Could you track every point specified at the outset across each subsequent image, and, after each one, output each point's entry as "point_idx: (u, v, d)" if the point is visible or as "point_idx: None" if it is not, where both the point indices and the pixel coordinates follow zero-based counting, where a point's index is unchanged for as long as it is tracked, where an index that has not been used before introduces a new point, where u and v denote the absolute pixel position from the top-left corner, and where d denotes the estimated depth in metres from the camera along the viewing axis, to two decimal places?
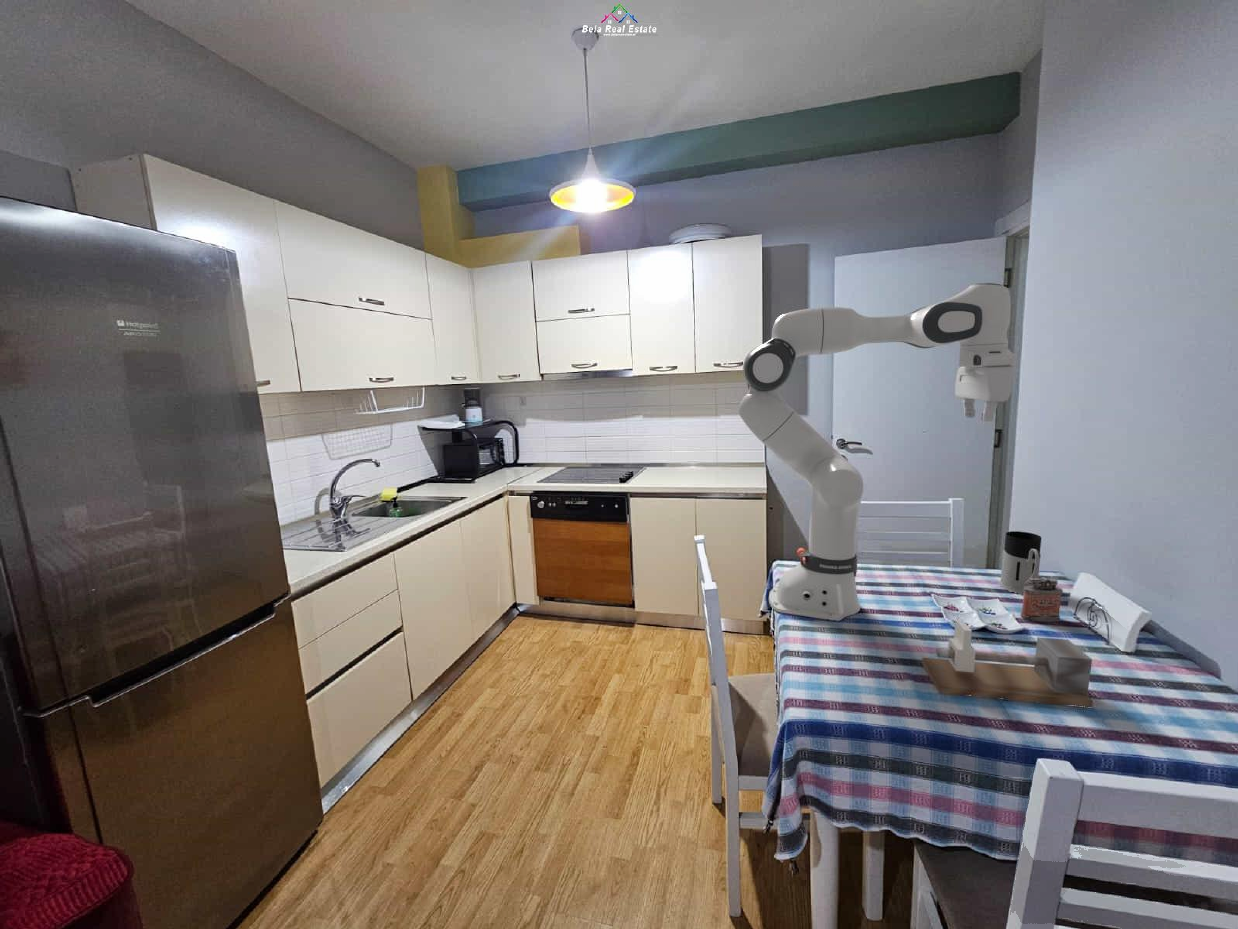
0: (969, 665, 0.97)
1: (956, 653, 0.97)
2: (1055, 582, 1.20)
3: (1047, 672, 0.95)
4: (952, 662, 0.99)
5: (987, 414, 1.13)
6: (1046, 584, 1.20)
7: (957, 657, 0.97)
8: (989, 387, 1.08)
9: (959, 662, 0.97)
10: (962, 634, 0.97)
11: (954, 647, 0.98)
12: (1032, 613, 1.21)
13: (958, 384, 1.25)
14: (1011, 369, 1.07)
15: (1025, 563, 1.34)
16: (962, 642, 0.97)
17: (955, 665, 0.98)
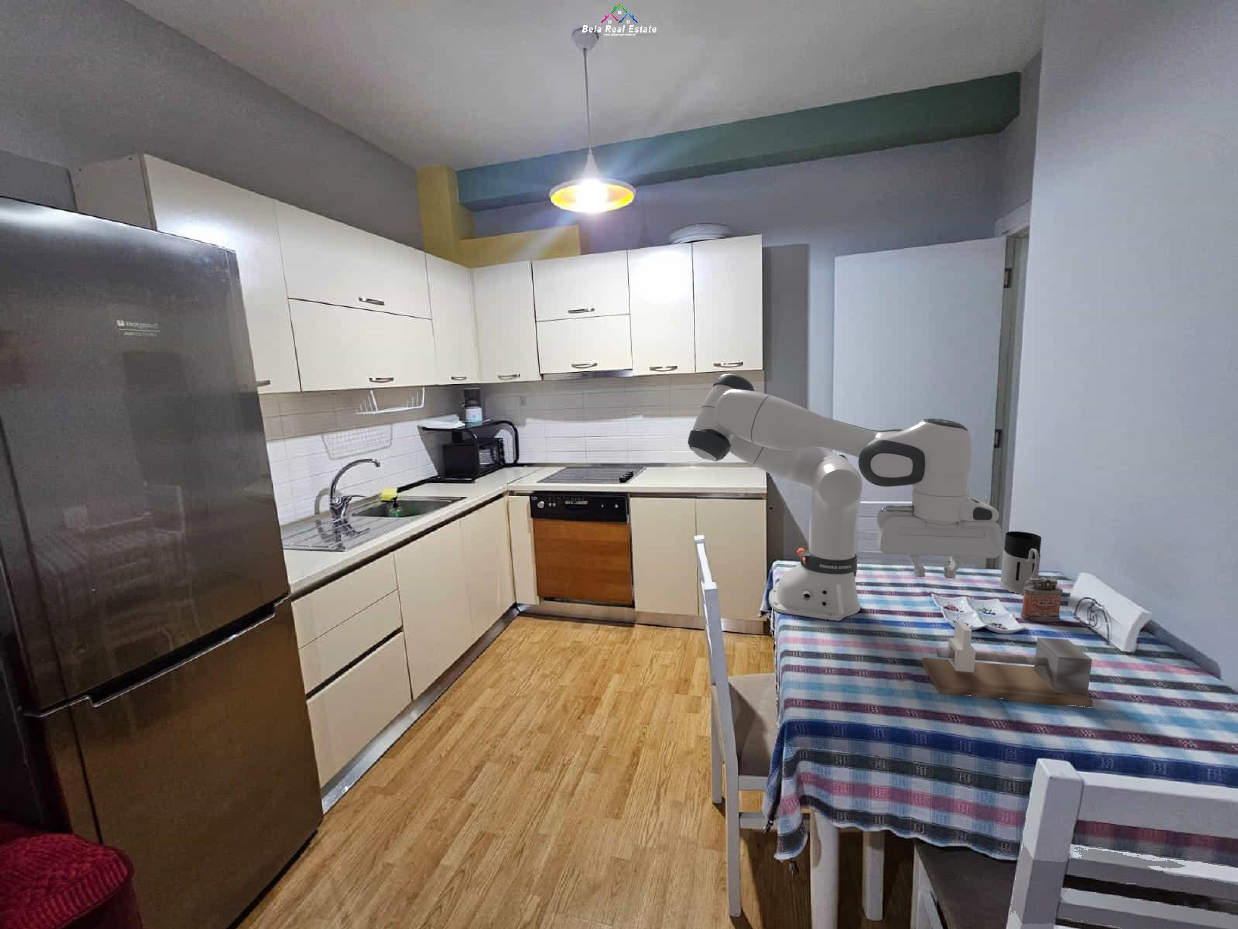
0: (969, 665, 0.97)
1: (956, 653, 0.97)
2: (1055, 582, 1.20)
3: (1047, 672, 0.95)
4: (952, 662, 0.99)
5: None
6: (1046, 584, 1.20)
7: (957, 657, 0.97)
8: (1000, 543, 0.92)
9: (959, 662, 0.97)
10: (962, 634, 0.97)
11: (954, 647, 0.98)
12: (1032, 613, 1.21)
13: (894, 539, 0.96)
14: None
15: (1025, 563, 1.34)
16: (962, 642, 0.97)
17: (955, 665, 0.98)
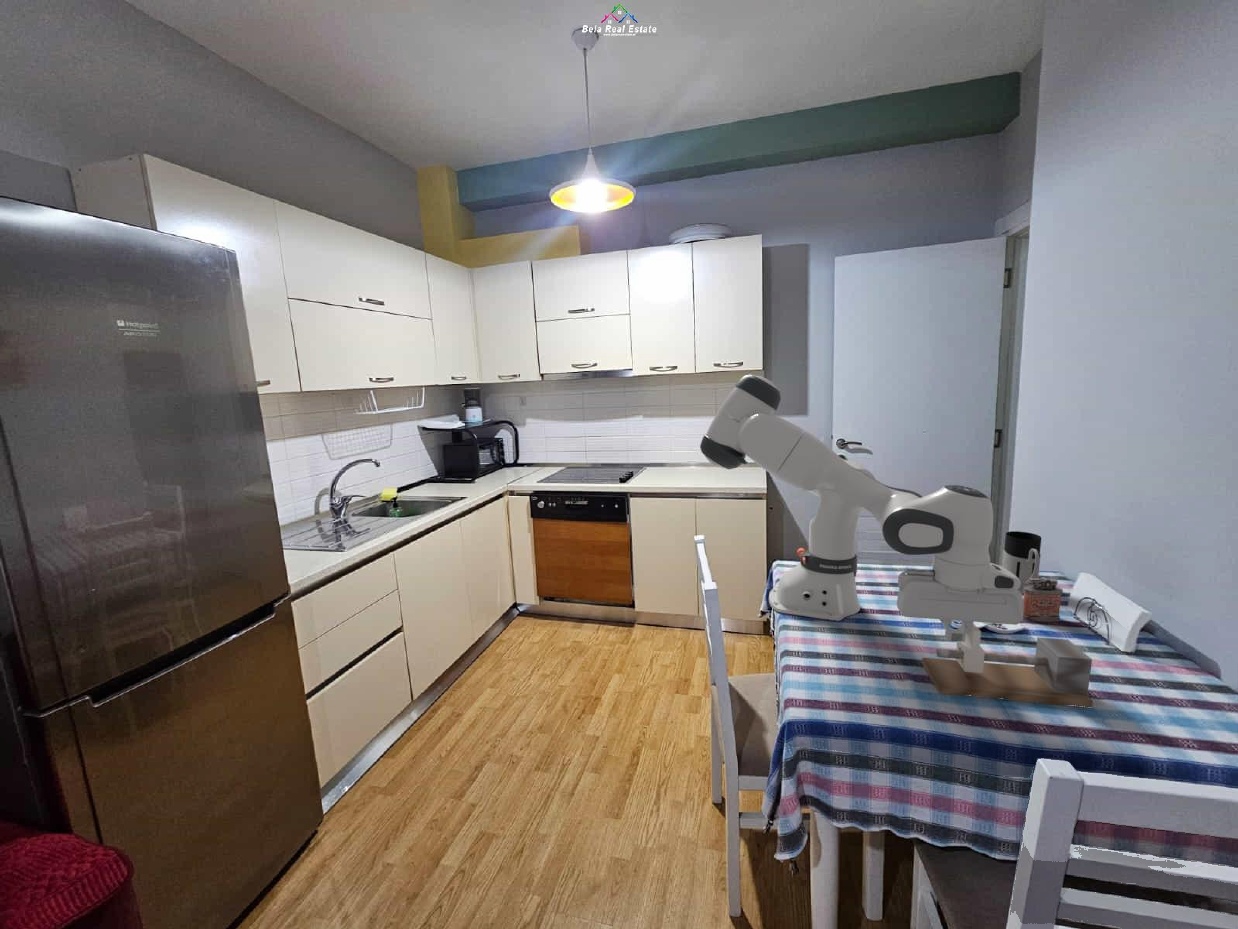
0: (978, 666, 0.96)
1: (965, 654, 0.97)
2: (1055, 582, 1.20)
3: (1047, 672, 0.95)
4: (961, 663, 0.99)
5: None
6: (1046, 584, 1.20)
7: (966, 658, 0.96)
8: (1022, 611, 0.93)
9: (968, 663, 0.96)
10: (971, 635, 0.96)
11: (963, 648, 0.98)
12: (1032, 614, 1.21)
13: (915, 603, 0.97)
14: None
15: (1025, 563, 1.34)
16: (971, 643, 0.96)
17: (964, 666, 0.97)
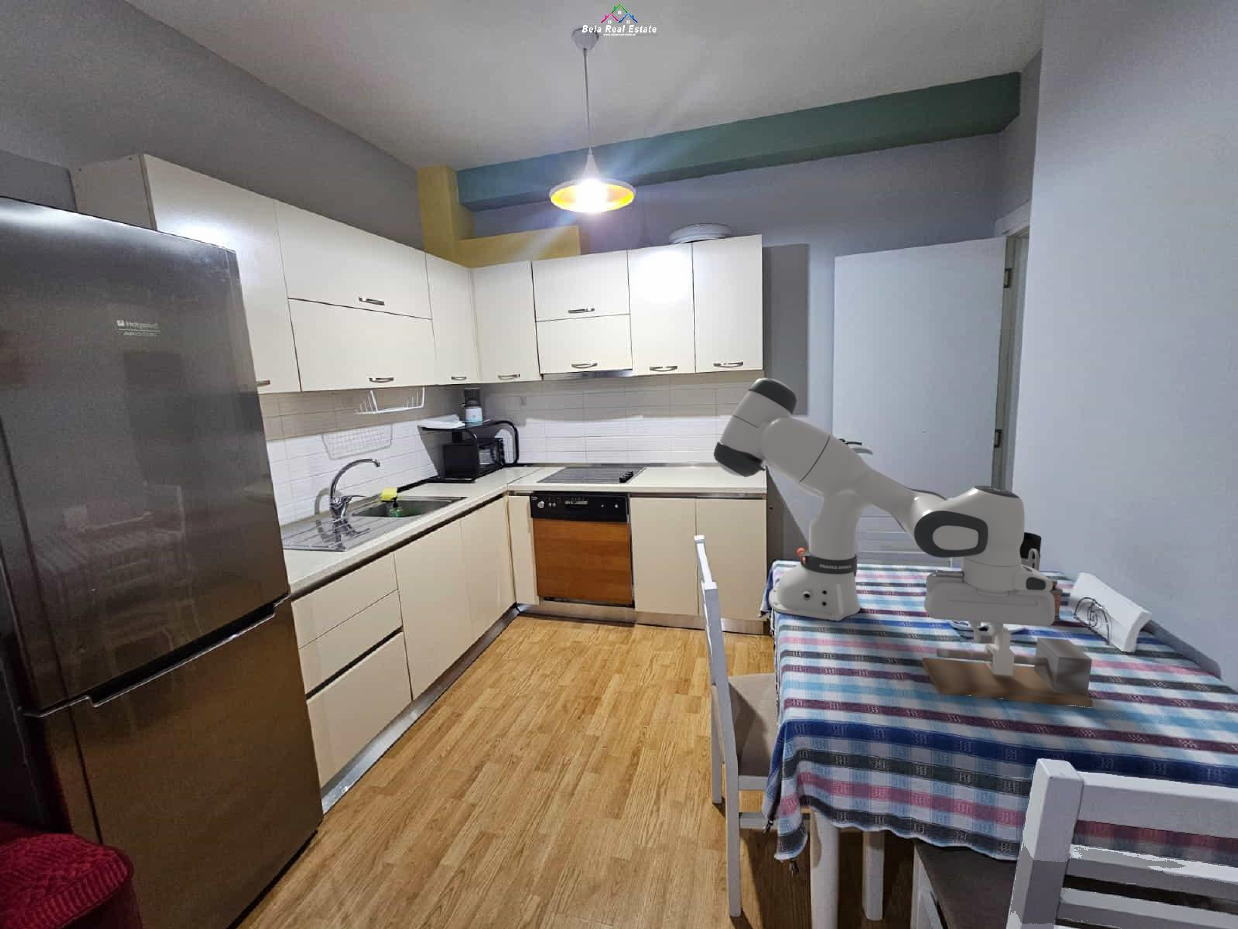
0: (1008, 668, 0.95)
1: (994, 656, 0.96)
2: (1055, 582, 1.20)
3: (1047, 672, 0.95)
4: (989, 665, 0.97)
5: None
6: None
7: (995, 660, 0.95)
8: (1053, 613, 0.91)
9: (997, 665, 0.95)
10: (1000, 637, 0.95)
11: (992, 650, 0.96)
12: None
13: (944, 604, 0.96)
14: None
15: (1025, 563, 1.34)
16: (1000, 645, 0.95)
17: (993, 668, 0.96)
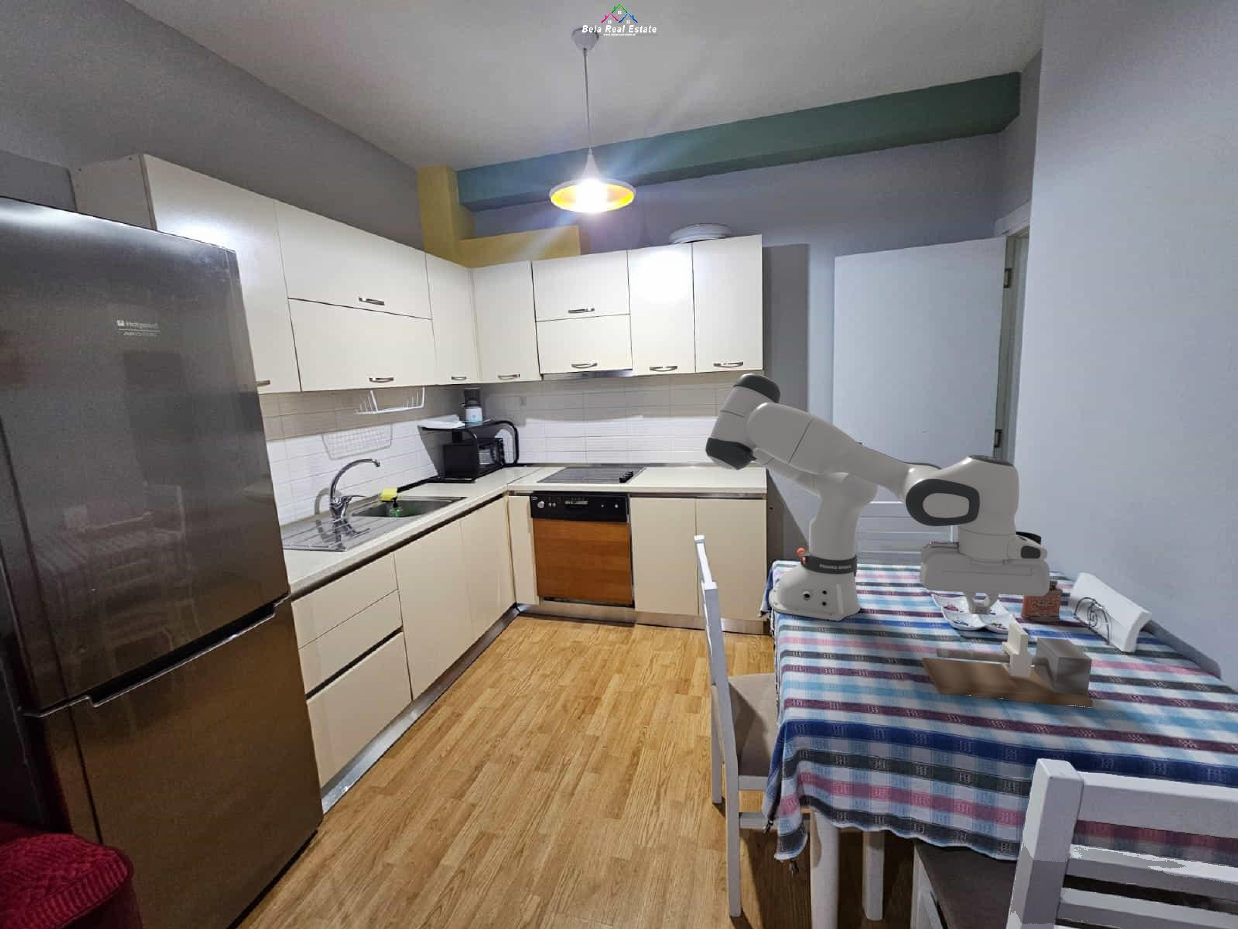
0: (1025, 670, 0.94)
1: (1011, 657, 0.95)
2: (1055, 582, 1.20)
3: (1047, 672, 0.95)
4: (1006, 667, 0.97)
5: None
6: None
7: (1013, 662, 0.95)
8: (1048, 582, 0.91)
9: (1015, 667, 0.95)
10: (1018, 638, 0.94)
11: (1009, 651, 0.96)
12: (1032, 614, 1.21)
13: (938, 575, 0.95)
14: None
15: None
16: (1018, 646, 0.94)
17: (1010, 670, 0.95)
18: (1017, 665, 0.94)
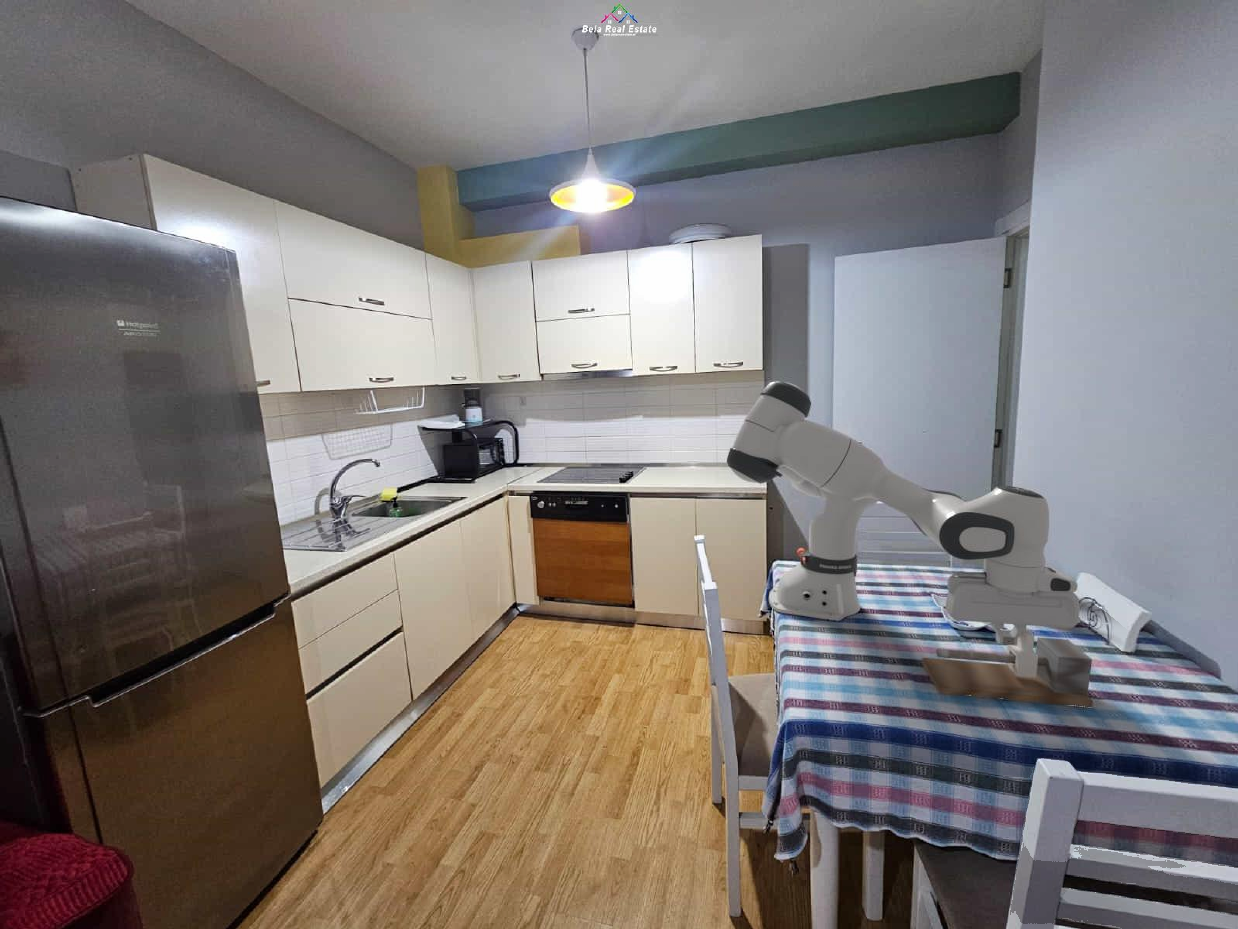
0: (1031, 670, 0.94)
1: (1017, 658, 0.95)
2: None
3: (1047, 672, 0.95)
4: (1012, 667, 0.96)
5: None
6: None
7: (1018, 662, 0.94)
8: (1078, 614, 0.91)
9: (1020, 667, 0.94)
10: (1024, 639, 0.94)
11: (1015, 652, 0.96)
12: None
13: (966, 606, 0.95)
14: None
15: None
16: (1024, 647, 0.94)
17: (1016, 670, 0.95)
18: (1023, 665, 0.94)
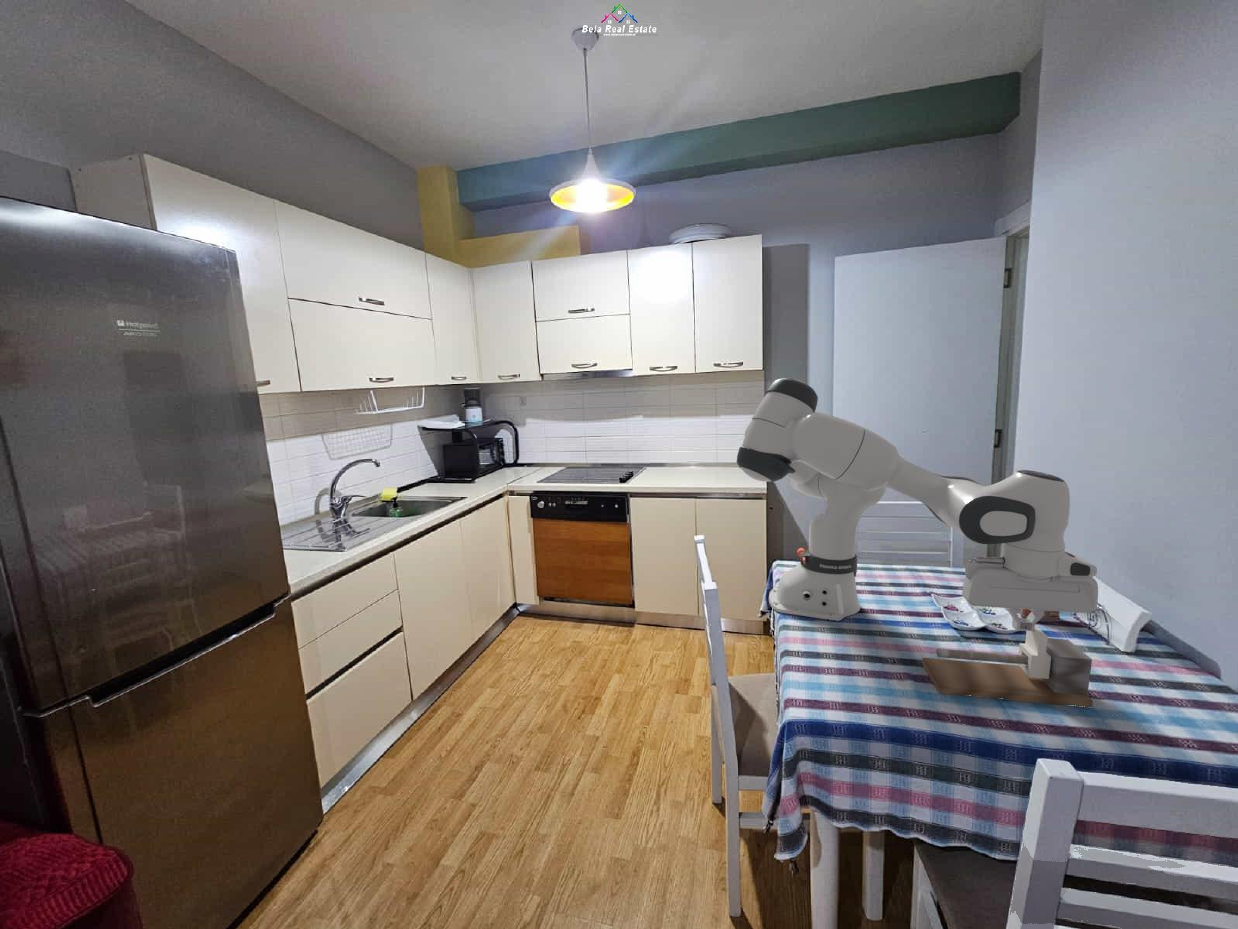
0: (1044, 671, 0.94)
1: (1030, 659, 0.94)
2: None
3: None
4: (1024, 668, 0.96)
5: None
6: None
7: (1031, 663, 0.94)
8: (1096, 599, 0.90)
9: (1033, 668, 0.94)
10: (1037, 640, 0.94)
11: (1027, 653, 0.95)
12: None
13: (984, 591, 0.94)
14: None
15: None
16: (1037, 648, 0.94)
17: (1029, 671, 0.95)
18: (1036, 667, 0.94)
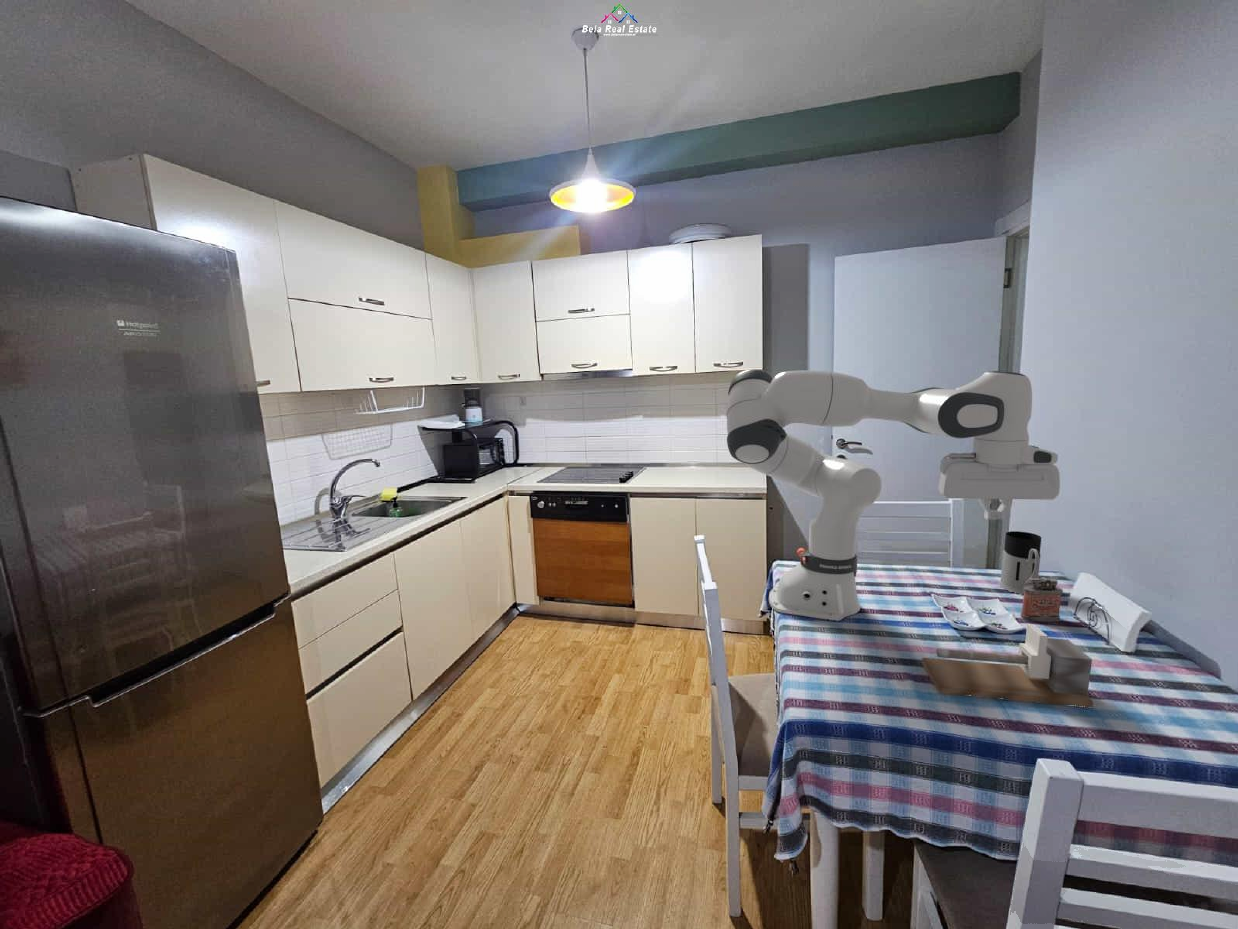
0: (1044, 671, 0.94)
1: (1030, 659, 0.94)
2: (1055, 582, 1.20)
3: None
4: (1024, 668, 0.96)
5: None
6: (1046, 584, 1.20)
7: (1031, 663, 0.94)
8: (1058, 485, 0.99)
9: (1033, 668, 0.94)
10: (1037, 640, 0.94)
11: (1027, 653, 0.95)
12: (1032, 614, 1.21)
13: (957, 483, 1.04)
14: None
15: (1025, 563, 1.34)
16: (1037, 648, 0.94)
17: (1029, 671, 0.95)
18: (1036, 667, 0.94)
